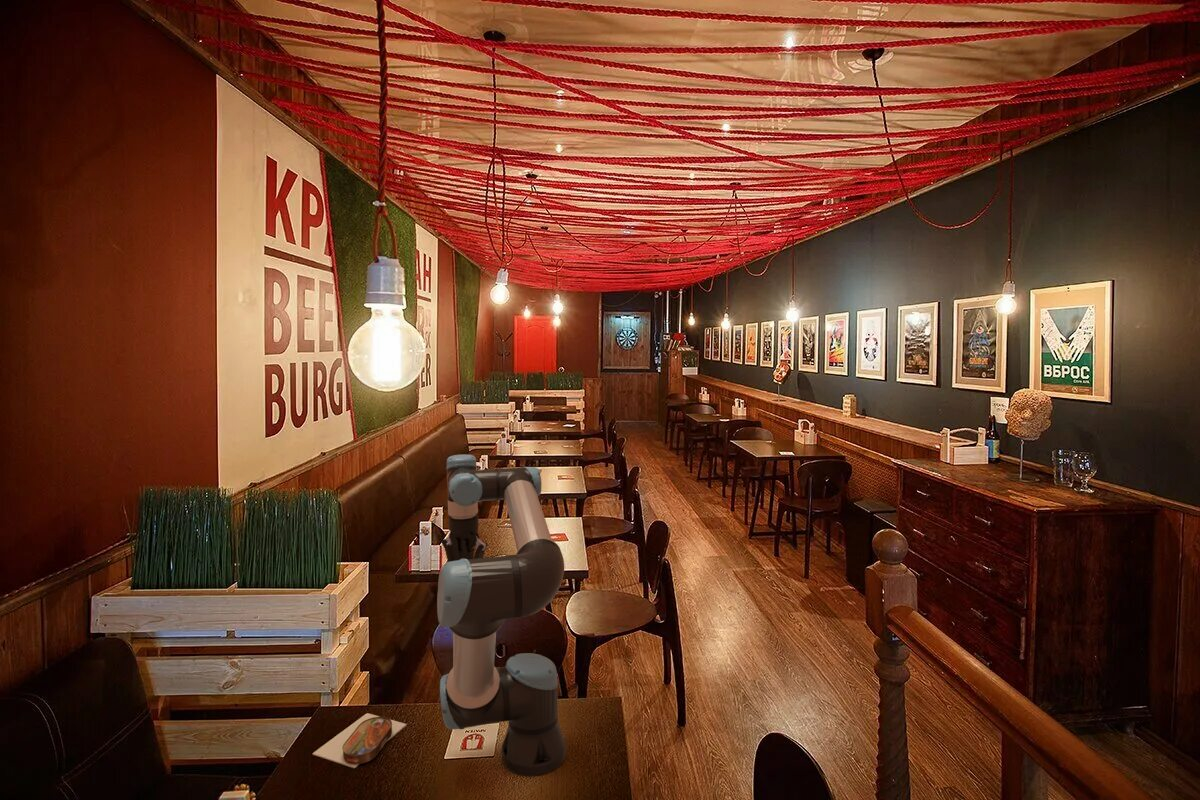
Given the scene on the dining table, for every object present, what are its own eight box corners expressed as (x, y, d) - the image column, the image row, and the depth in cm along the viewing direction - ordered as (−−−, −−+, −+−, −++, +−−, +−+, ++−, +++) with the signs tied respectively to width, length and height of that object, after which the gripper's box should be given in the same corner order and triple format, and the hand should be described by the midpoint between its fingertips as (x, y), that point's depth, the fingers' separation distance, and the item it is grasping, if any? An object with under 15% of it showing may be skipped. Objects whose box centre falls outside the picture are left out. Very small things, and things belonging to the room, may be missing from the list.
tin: (369, 756, 150) (335, 751, 151) (369, 769, 151) (334, 763, 152) (398, 717, 165) (366, 713, 166) (397, 729, 166) (366, 724, 167)
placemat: (406, 725, 167) (406, 724, 167) (354, 768, 151) (354, 767, 151) (367, 714, 172) (367, 713, 172) (312, 754, 156) (312, 753, 156)
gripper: (492, 513, 169) (495, 601, 171) (451, 508, 174) (454, 594, 177) (476, 521, 162) (479, 612, 165) (433, 516, 167) (436, 604, 170)
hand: (466, 603), depth 171 cm, fingers closed
